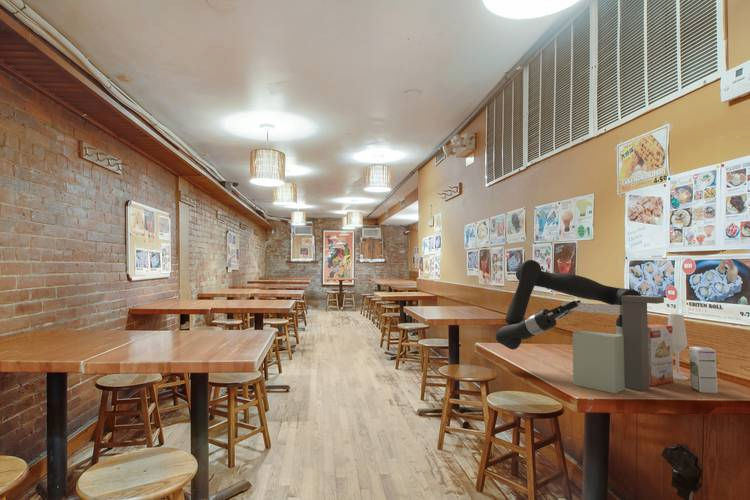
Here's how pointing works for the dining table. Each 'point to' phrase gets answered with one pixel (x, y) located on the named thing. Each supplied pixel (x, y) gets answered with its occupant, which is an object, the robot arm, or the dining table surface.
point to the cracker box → (660, 354)
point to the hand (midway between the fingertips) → (578, 302)
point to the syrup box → (703, 369)
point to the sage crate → (598, 361)
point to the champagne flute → (678, 340)
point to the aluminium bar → (597, 308)
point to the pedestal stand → (636, 340)
